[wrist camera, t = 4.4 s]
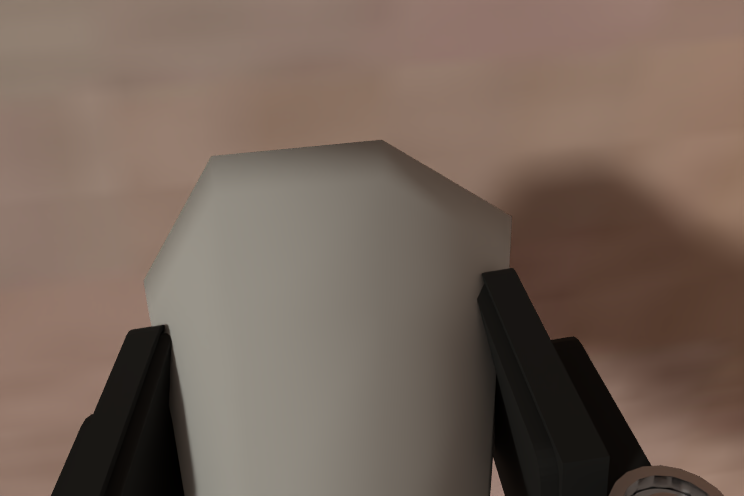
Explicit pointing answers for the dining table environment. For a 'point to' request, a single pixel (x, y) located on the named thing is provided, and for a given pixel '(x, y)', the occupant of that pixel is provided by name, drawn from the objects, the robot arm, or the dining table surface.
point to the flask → (330, 326)
